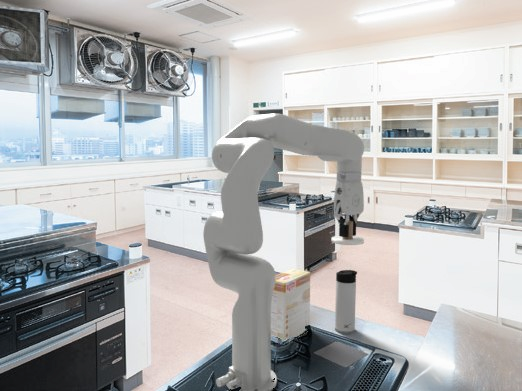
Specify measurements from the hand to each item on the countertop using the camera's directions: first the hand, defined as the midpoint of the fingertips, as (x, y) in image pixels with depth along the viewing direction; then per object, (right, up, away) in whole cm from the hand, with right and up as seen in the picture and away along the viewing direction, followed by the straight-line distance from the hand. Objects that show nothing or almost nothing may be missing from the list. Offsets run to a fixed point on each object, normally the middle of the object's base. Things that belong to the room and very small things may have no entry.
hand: (347, 235), depth 126 cm
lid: (0, -2, 0) cm, 2 cm away
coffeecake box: (-19, -32, 0) cm, 37 cm away
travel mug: (0, -31, +3) cm, 32 cm away
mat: (-5, -33, -13) cm, 35 cm away
